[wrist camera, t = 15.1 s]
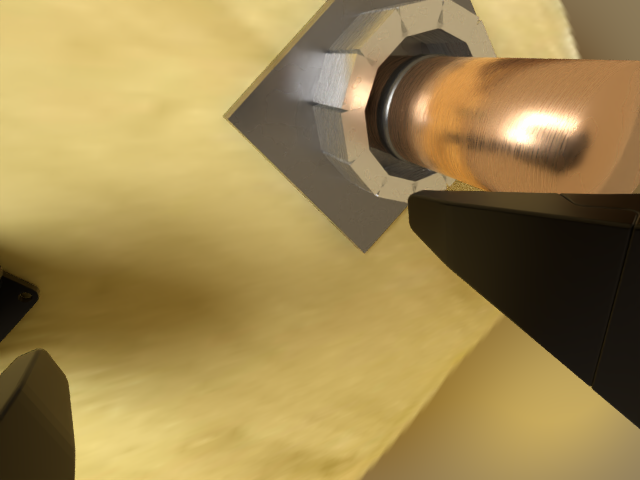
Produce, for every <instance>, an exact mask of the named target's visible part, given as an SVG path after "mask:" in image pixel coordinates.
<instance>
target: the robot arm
mask: <svg viewBox="0 0 640 480" xmlns="http://www.w3.org/2000/svg"><path fill="white" fill-rule="evenodd" d="M408 213H409V223H410V226H411V229H412V230H413V231H414V232H415V233H416V235H417V236H418V237H419V238H420V239H421V240H422V241H423V242H424V243H425V244H426V245H427V246H428V247H429V248H430V249H431V250H432V251H433V252H434V253H435V254H436V255H437V256H438V258H439V259H440V260H441V261H442V262H443V263H444V264H445V265H446V266H448V267H449V268H450V269H451V270H452V271H453V272H454V273H456V274H457V275H458V276H459V277H460V278H461V279H463V280H464V281H465V282H466V283H467V284H469V285H470V286H471V287H472V288H473V289H475V290H476V291H477V292H478V293H479V294H480V295H482V296H483V297H484V298H485V299H486V300H488V301H489V302H490V303H491V304H492V305H494V306H495V307H496V308H497V309H498V310H499V311H501V312H502V313H503V314H504V315H505V316H507V317H508V318H509V319H510V320H511V321H513V322H514V323H515V324H516V325H517V326H519V327H520V328H521V329H522V330H523V331H524V332H526V333H527V334H528V335H529V336H530V337H532V338H533V339H534V340H535V341H536V342H538V343H539V344H540V345H541V346H542V347H544V348H545V349H546V350H547V351H548V352H550V353H551V354H552V355H553V356H554V357H555V358H557V359H558V360H559V361H560V362H561V363H562V364H564V365H565V366H566V367H567V368H569V369H570V370H571V371H572V372H573V373H574V374H576V375H577V376H578V377H579V378H580V379H582V380H583V381H584V382H585V383H586V384H587V385H589V386H592V389H593V390H594V391H595V392H597V393H598V394H599V395H600V396H601V397H602V398H604V399H605V400H606V401H607V402H608V403H610V404H611V405H612V406H613V407H614V408H616V409H617V410H618V411H619V412H620V413H622V414H623V415H624V416H625V417H626V418H627V419H629V420H630V421H631V422H632V423H633V424H634V425H636V426H637V427H638V428H639V429H640V194H575V193H561V194H558V193H531V192H489V191H447V190H420V191H418V192H415V193H413V194H411V195H410V196H409V197H408ZM25 292H26V293H29V294H31V295H32V296H31V297H29V298H25V297H22V296H21V295H20V294H21V293H25ZM39 295H40V291H39V289H38V287H36V286H35V285H33V284H31V283H29V282H26V281H24V280H22V279H20V278H18V277H15V276H13V275H11V274H9V273H7V272H5V271H3V270H2V268H1V266H0V342H1V341H2V340H3V339H4V338H5V337H6V335H7V334H8V333H9V332H10V331H11V330H12V329H13V328H14V327H15V326H16V324H17V323H18V322H19V321H20V320H21V319H22V318H23V317H24V316H25V314H26V313H27V312H28V311H29V310H30V309H31V308H32V307H33V306H34V304H35V303H36V302H37V300H38V298H39ZM0 480H75V440H74V430H73V421H72V411H71V402H70V392H69V384H68V380H67V378H66V376H65V374H64V373H63V372H62V370H61V369H60V368H59V366H58V365H57V364H56V363H55V361H54V360H53V359H52V357H51V356H50V355H49V354H48V352H47V351H45V350H44V349H40V348H39V349H36V350H33V351H31V352H28V353H26V354H24V355H21V356H19V357H18V358H16V359H15V360H14V361H13V362H12V364H11V365H10V366H9V367H8V368H7V369H6V370H5V371H4V372H3V373H2V374H1V375H0Z"/></svg>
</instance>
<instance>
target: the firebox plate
mask: <svg viewBox="0 0 640 480" xmlns="http://www.w3.org/2000/svg"><path fill="white" fill-rule="evenodd" d="M478 19H479V17H478V16H477V15H476V13H475V11H474V8H473V6H472V3H471V1H470V0H327V1H326V3H325V4H324V5H323V6H322V7H321V8H320V9H319V10H318V11H317V13H316V14H315V15H314V16H313V17H312V18H311V19H310V20H309V21H308V22H307V24H306V25H305V26H304V27H303V28H302V29H301V30H300V31H299V32H298V34H297V35H296V36H295V37H294V38H293V39H292V40H291V41H290V42H289V44H288V45H287V46H286V47H285V48H284V49H283V50H282V51H281V52H280V53H279V55H278V56H277V57H276V58H275V59H274V60H273V61H272V62H271V63H270V65H269V66H268V67H267V68H266V69H265V70H264V71H263V72H262V73H261V74H260V76H259V77H258V78H257V79H256V80H255V81H254V82H253V83H252V84H251V86H250V87H249V88H248V89H247V90H246V91H245V92H244V93H243V94H242V96H241V97H240V98H239V99H238V100H237V101H236V102H235V103H234V104H233V105H232V107H231V108H230V109H229V110H228V111H227V112H226V113H225V114H224V115H223V117H224V118H225V119H226V120H227V121H228V122H229V123H230V124H231V125H232V126H233V127H234V128H235V129H236V130H237V131H238V132H239V133H240V134H241V135H242V136H243V137H244V138H245V139H246V140H247V141H248V142H249V143H250V144H251V145H252V146H253V147H255V148H256V149H257V150H258V151H259V152H260V153H261V154H262V155H263V156H264V157H265V158H266V159H267V160H268V161H269V162H270V163H271V164H272V165H273V166H274V167H275V168H276V169H277V170H278V171H279V172H280V173H281V174H282V175H283V176H284V177H285V178H286V179H287V180H288V181H289V182H290V183H291V184H292V185H293V186H294V187H295V188H296V189H297V190H299V191H300V192H301V193H302V194H303V195H304V196H305V197H306V198H307V199H308V200H309V201H310V202H311V203H312V204H313V205H314V206H315V207H316V208H317V209H318V210H319V211H320V212H321V213H322V214H323V215H324V216H325V217H326V218H327V219H328V220H329V221H330V222H331V223H332V224H333V225H334V226H335V227H336V228H337V229H338V230H339V231H340V232H341V233H343V234H344V235H345V236H346V237H347V238H348V239H349V240H350V241H351V242H352V243H353V244H354V245H355V246H356V247H357V248H358V249H359V250H361V251H362V252H363V253H364V254H365V252H366V251H367V250H368V249H369V248H370V247H371V246H372V245H373V244H374V242H375V241H376V240H377V239H378V238H379V237H380V236H381V235H382V234H383V232H384V231H385V230H386V229H387V228H388V227H389V226H390V225H391V224H392V222H393V221H394V220H395V219H396V218H397V217H398V216H399V215H400V214H401V212H402V211H403V210H404V209H405V208H406V207H407V206H408V197H409V196H410V195H411V194H413V193H415V192H418V191H420V190H446V189H447V186H448V187H450V186H451V185H452V184H453V182H454V181H455V180H456V179H453V178H451V177H448V176H446V175H443V174H440V173H438V172H435V171H432V170H430V169H427V168H425V167H422V166H416V165H411V164H409V163H406V162H403V161H401V160H398V159H396V158H395V157H393V156H392V155H391V154H388V153H385V152H383V151H380V150H378V149H375V148H373V147H370V146H369V143H368V135H367V128H366V120H365V112H364V111H365V107H366V104H367V101H368V98H369V94H370V91H371V88H372V85H373V81H374V78H375V75H376V72H377V69H378V67H379V66H380V65H381V64H382V63H383V62H384V60H385V59H386V58H387V57H388V56H392V55H403V56H416V55H420V54H444V55H448V56H450V57H492V58H497V57H496V54H495V52H494V50H493V47H492V45H491V42H490V40H489V37H488V35H487V32H486V30H485V27H484V25H483V23H482V20H478Z"/></svg>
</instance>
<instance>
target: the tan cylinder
mask: <svg viewBox="0 0 640 480" xmlns="http://www.w3.org/2000/svg"><path fill="white" fill-rule="evenodd" d="M364 112H365V120H366V128H367V135H368V143H369V146H370V147H373V148H375V149H378V150H380V151H383V152H385V153H388V154H391V155H392V156H393V157H395V158H396V159H398V160H401V161H403V162H406V163H409V164H411V165H416V166H422V167H425V168H427V169H430V170H432V171H435V172H438V173H440V174H443V175H446V176H448V177H451V178H453V179H456V180H459V181H461V182H464V183H466V184H469V185H472V186H474V187H477V188H479V189H482V190H485V191H489V192H531V193H558V194H561V193H575V194H632V193H633V192H634V190H635V189H636V188H637V186H638V185H639V184H640V61H627V60H625V61H624V60H582V59H537V58H492V57H450V56H448V55H444V54H420V55H416V56H403V55H392V56H388V57H387V58H386V59H385V60H384V62H383V63H382V64H381V65H380V66H379V67H378V69H377V72H376V75H375V78H374V81H373V85H372V88H371V91H370V94H369V98H368V101H367V104H366V107H365V111H364Z"/></svg>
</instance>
